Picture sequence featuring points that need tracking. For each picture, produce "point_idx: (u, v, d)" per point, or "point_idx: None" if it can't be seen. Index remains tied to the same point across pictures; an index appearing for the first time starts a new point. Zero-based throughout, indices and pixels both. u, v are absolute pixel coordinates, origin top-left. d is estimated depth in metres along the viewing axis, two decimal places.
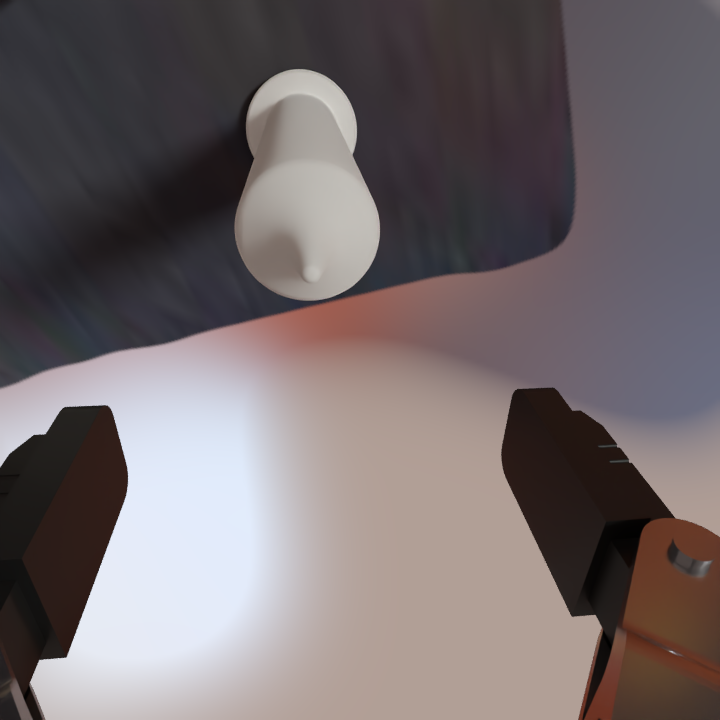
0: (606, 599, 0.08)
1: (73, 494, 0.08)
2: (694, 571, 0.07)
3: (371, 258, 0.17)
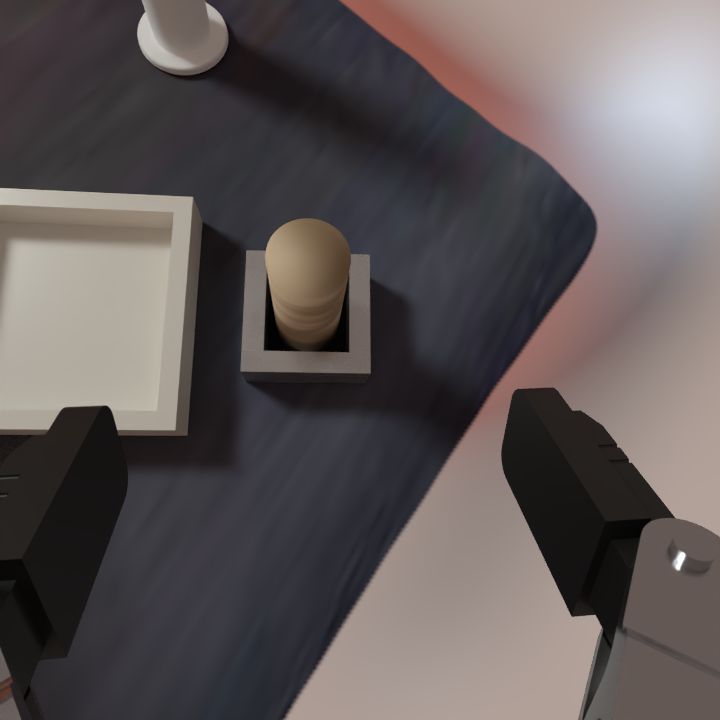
0: (606, 600, 0.08)
1: (73, 494, 0.08)
2: (694, 571, 0.07)
3: None
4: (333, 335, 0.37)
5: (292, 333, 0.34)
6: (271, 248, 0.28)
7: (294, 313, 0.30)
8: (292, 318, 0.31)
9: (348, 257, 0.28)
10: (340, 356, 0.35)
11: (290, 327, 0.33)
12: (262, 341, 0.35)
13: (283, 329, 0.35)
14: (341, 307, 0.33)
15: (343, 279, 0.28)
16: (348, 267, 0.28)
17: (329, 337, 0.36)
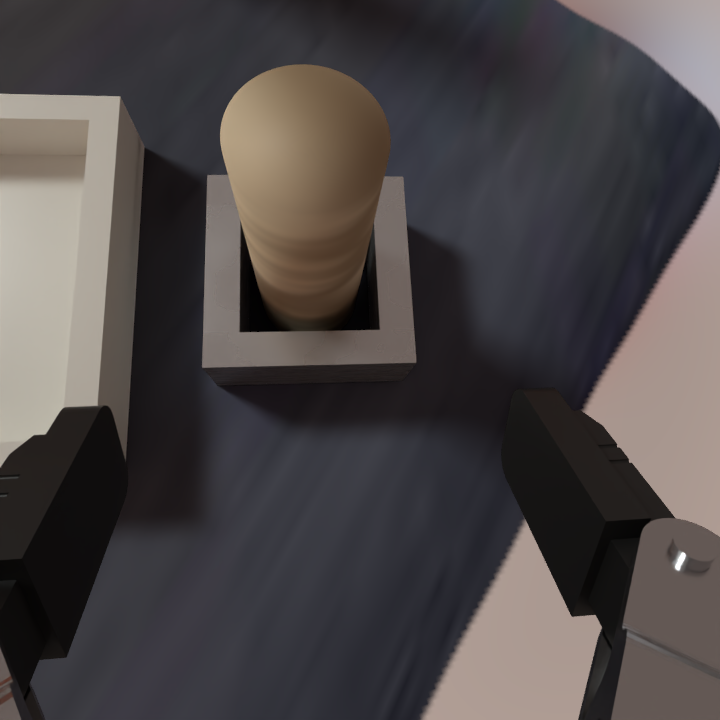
0: (606, 599, 0.08)
1: (73, 494, 0.08)
2: (694, 571, 0.07)
3: None
4: (351, 306, 0.24)
5: (285, 302, 0.20)
6: (232, 121, 0.14)
7: (285, 258, 0.16)
8: (282, 271, 0.17)
9: (385, 135, 0.14)
10: (365, 337, 0.22)
11: (281, 290, 0.19)
12: (237, 317, 0.21)
13: (270, 297, 0.21)
14: (366, 252, 0.19)
15: (378, 176, 0.14)
16: (386, 153, 0.14)
17: (345, 309, 0.23)
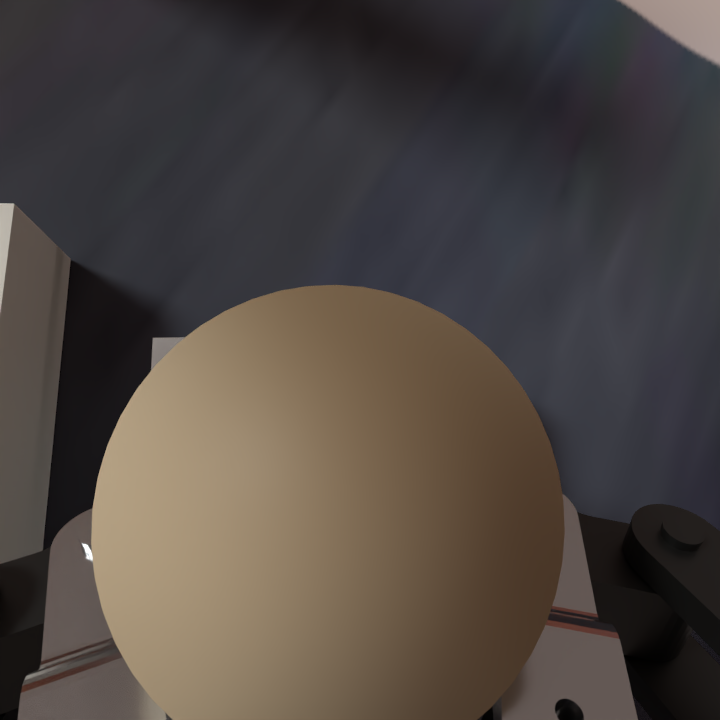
0: None
1: None
2: None
3: None
4: None
5: None
6: (128, 472, 0.05)
7: None
8: None
9: (547, 485, 0.05)
10: None
11: None
12: None
13: None
14: None
15: (539, 622, 0.05)
16: (555, 544, 0.05)
17: None
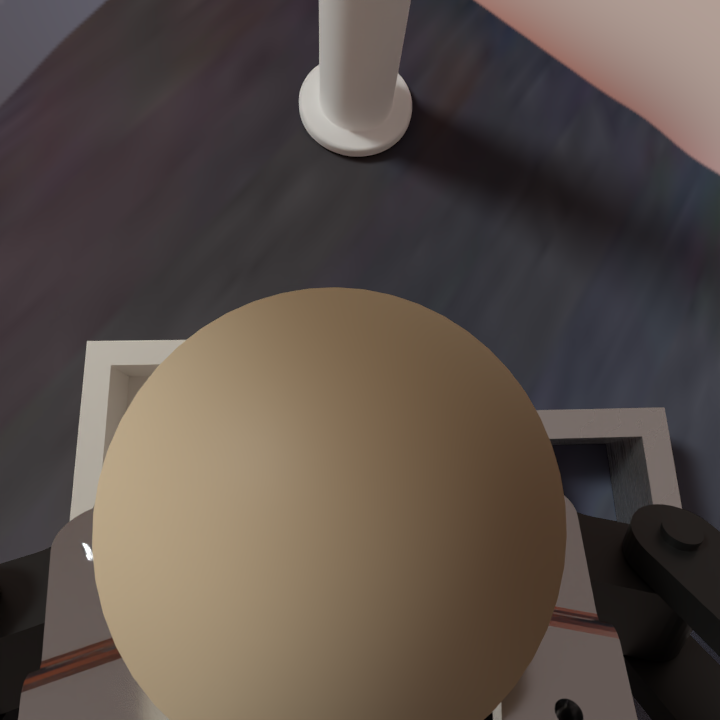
0: None
1: None
2: None
3: None
4: None
5: None
6: (129, 475, 0.05)
7: None
8: None
9: (549, 489, 0.05)
10: None
11: None
12: None
13: None
14: None
15: (541, 626, 0.05)
16: (557, 547, 0.05)
17: None
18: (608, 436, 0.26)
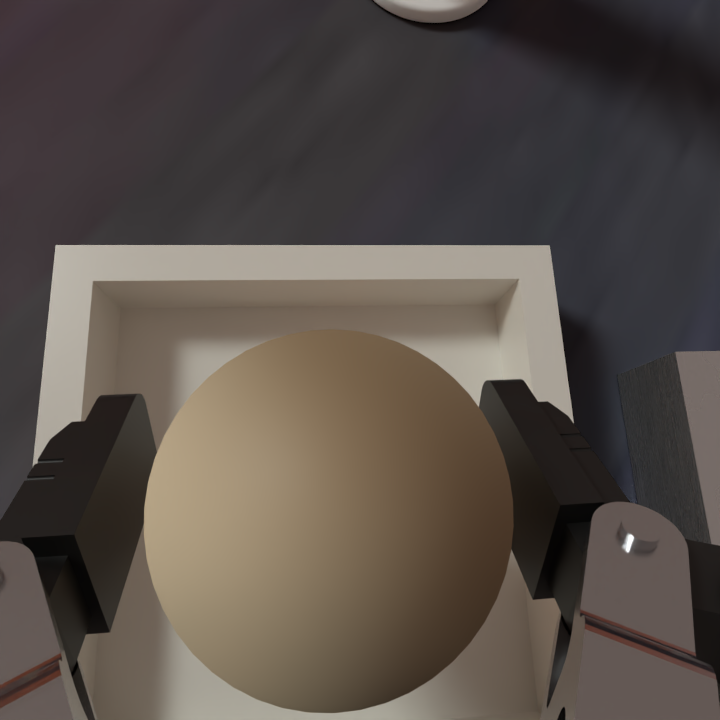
0: (562, 582, 0.08)
1: (114, 477, 0.09)
2: (640, 551, 0.07)
3: None
4: None
5: None
6: (171, 478, 0.06)
7: None
8: None
9: (500, 489, 0.07)
10: None
11: None
12: None
13: None
14: None
15: (492, 596, 0.06)
16: (506, 535, 0.07)
17: None
18: None
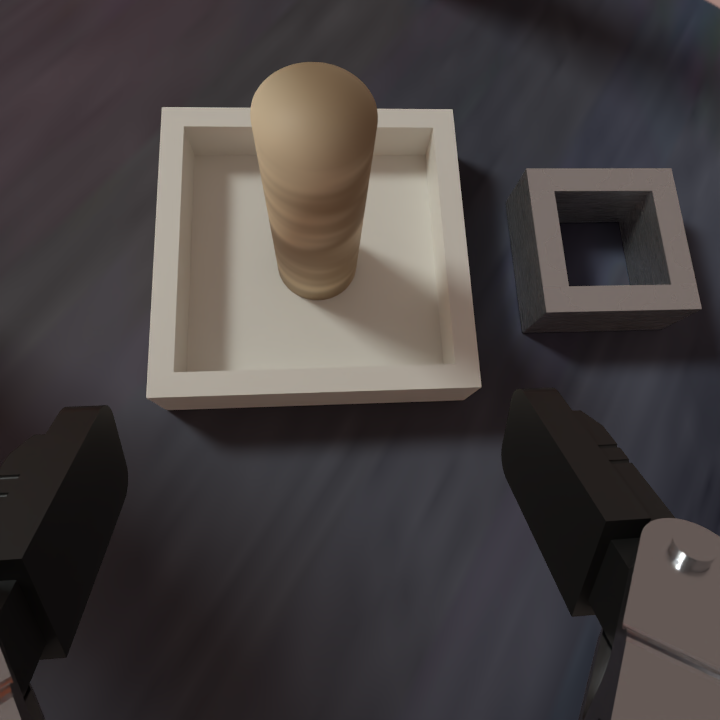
0: (606, 599, 0.08)
1: (73, 494, 0.08)
2: (694, 571, 0.07)
3: None
4: (352, 267, 0.28)
5: (298, 259, 0.25)
6: (258, 105, 0.19)
7: (299, 213, 0.21)
8: (296, 226, 0.22)
9: (373, 112, 0.19)
10: (661, 289, 0.28)
11: (295, 247, 0.24)
12: (565, 275, 0.28)
13: (285, 256, 0.26)
14: (363, 215, 0.24)
15: (368, 143, 0.19)
16: (374, 126, 0.19)
17: (348, 268, 0.27)
18: (622, 190, 0.30)
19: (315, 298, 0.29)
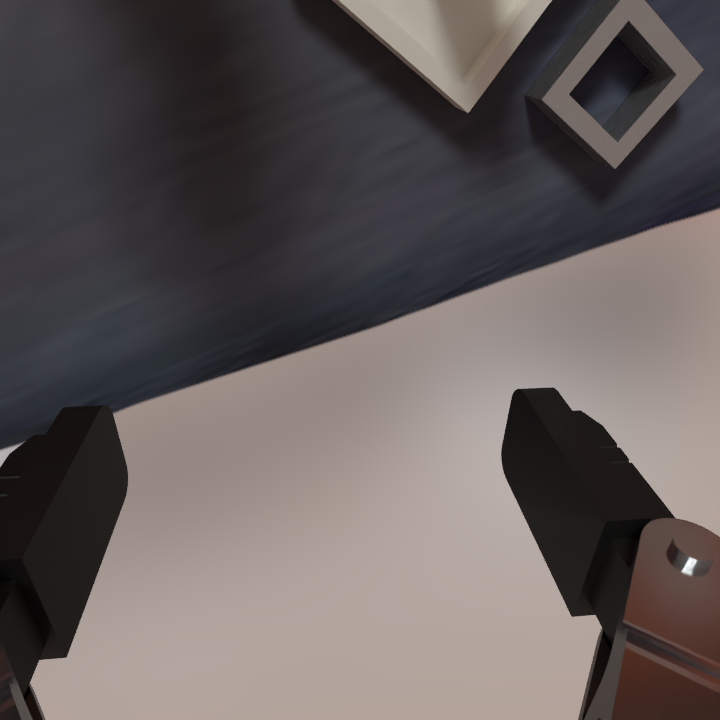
0: (606, 599, 0.08)
1: (74, 494, 0.08)
2: (694, 571, 0.07)
3: None
4: None
5: None
6: None
7: None
8: None
9: None
10: (609, 141, 0.41)
11: None
12: (574, 86, 0.38)
13: None
14: None
15: None
16: None
17: None
18: (662, 58, 0.38)
19: None
